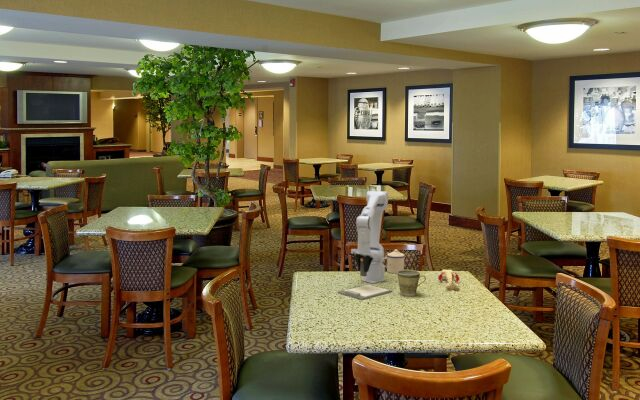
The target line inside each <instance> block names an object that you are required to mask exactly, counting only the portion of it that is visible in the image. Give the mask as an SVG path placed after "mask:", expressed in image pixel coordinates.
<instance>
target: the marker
mask: <svg viewBox="0 0 640 400" xmlns="http://www.w3.org/2000/svg"><path fill="white" fill-rule="evenodd" d="M359 276H360V277H365V276H367V272H364V263H363V259H362V258H360V271H359Z"/></svg>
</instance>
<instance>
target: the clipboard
mask: <svg viewBox="0 0 640 400" xmlns="http://www.w3.org/2000/svg"><path fill="white" fill-rule="evenodd" d="M389 293H390V294H391V293H393V290H391V289H387V288H384V287H380V286H376V285H374V284H368V283H367V284H363V285H360V286H356V287H350V288H347V289H343V290H339V291H337V294H340V295H342V296H347V297H351V298H353V299H356V300H360V301H363V300H368V299H371V298H375V297H377V296H378V297H379V296H382V295H386V294H389Z"/></svg>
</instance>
